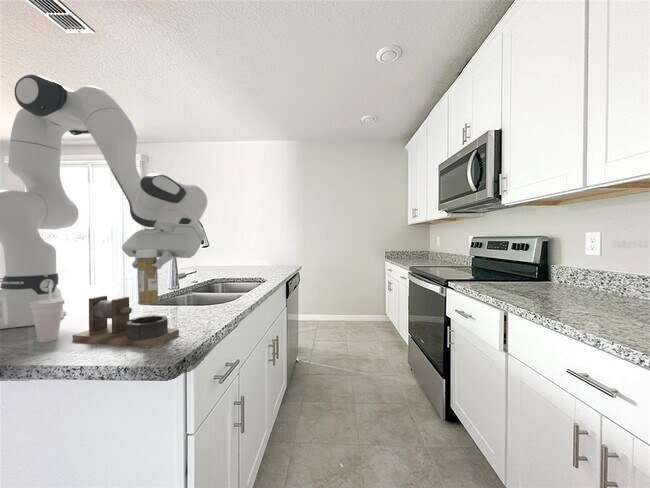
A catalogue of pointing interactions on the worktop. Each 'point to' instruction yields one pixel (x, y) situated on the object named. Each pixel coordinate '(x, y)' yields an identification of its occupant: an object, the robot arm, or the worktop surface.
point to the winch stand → (123, 325)
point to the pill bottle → (147, 277)
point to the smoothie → (47, 317)
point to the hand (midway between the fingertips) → (145, 267)
